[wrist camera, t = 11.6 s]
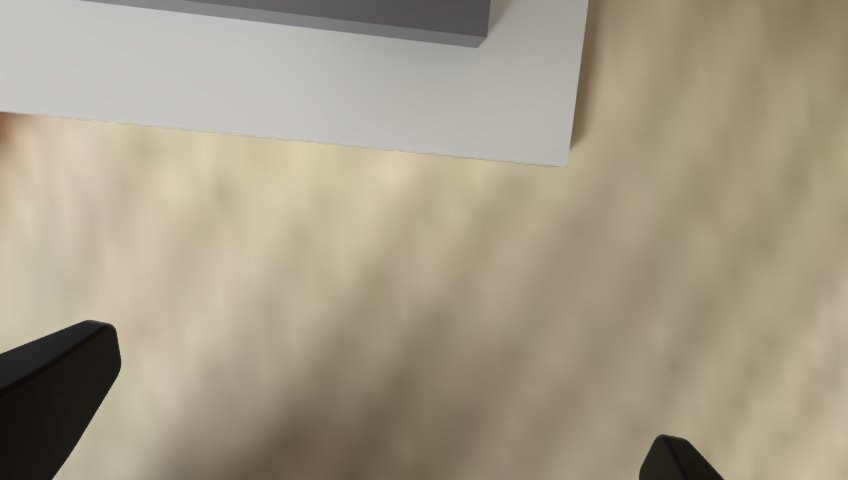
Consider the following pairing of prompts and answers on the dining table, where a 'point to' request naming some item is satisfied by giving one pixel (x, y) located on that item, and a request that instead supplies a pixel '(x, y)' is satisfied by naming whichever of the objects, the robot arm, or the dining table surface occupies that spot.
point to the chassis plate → (308, 70)
